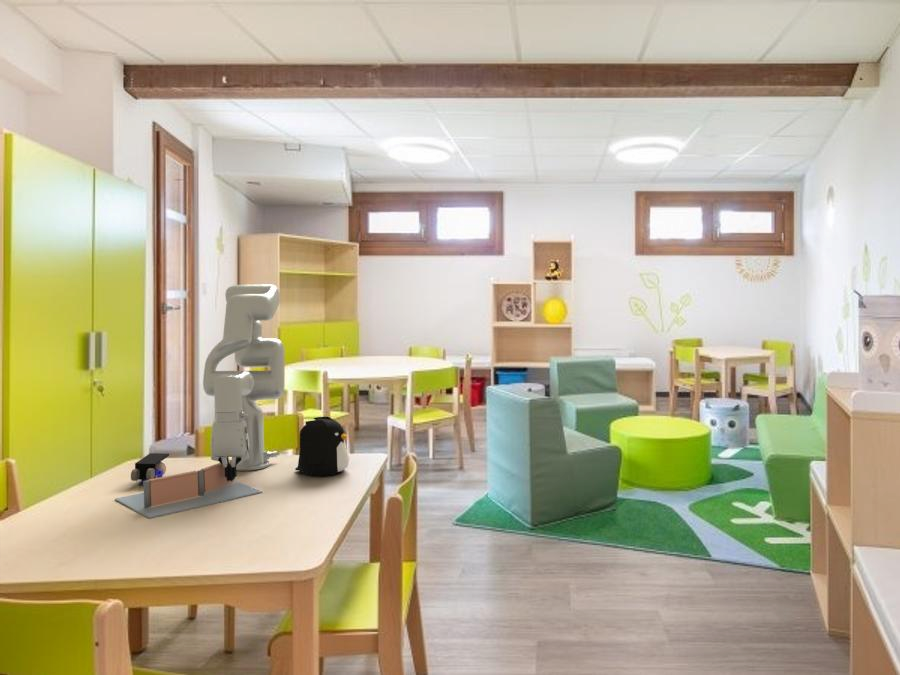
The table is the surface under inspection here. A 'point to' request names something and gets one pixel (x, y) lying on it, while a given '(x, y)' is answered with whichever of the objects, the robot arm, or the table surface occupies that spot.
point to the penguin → (322, 448)
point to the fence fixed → (173, 488)
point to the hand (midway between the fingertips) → (230, 479)
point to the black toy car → (149, 467)
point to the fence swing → (214, 477)
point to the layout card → (188, 500)
